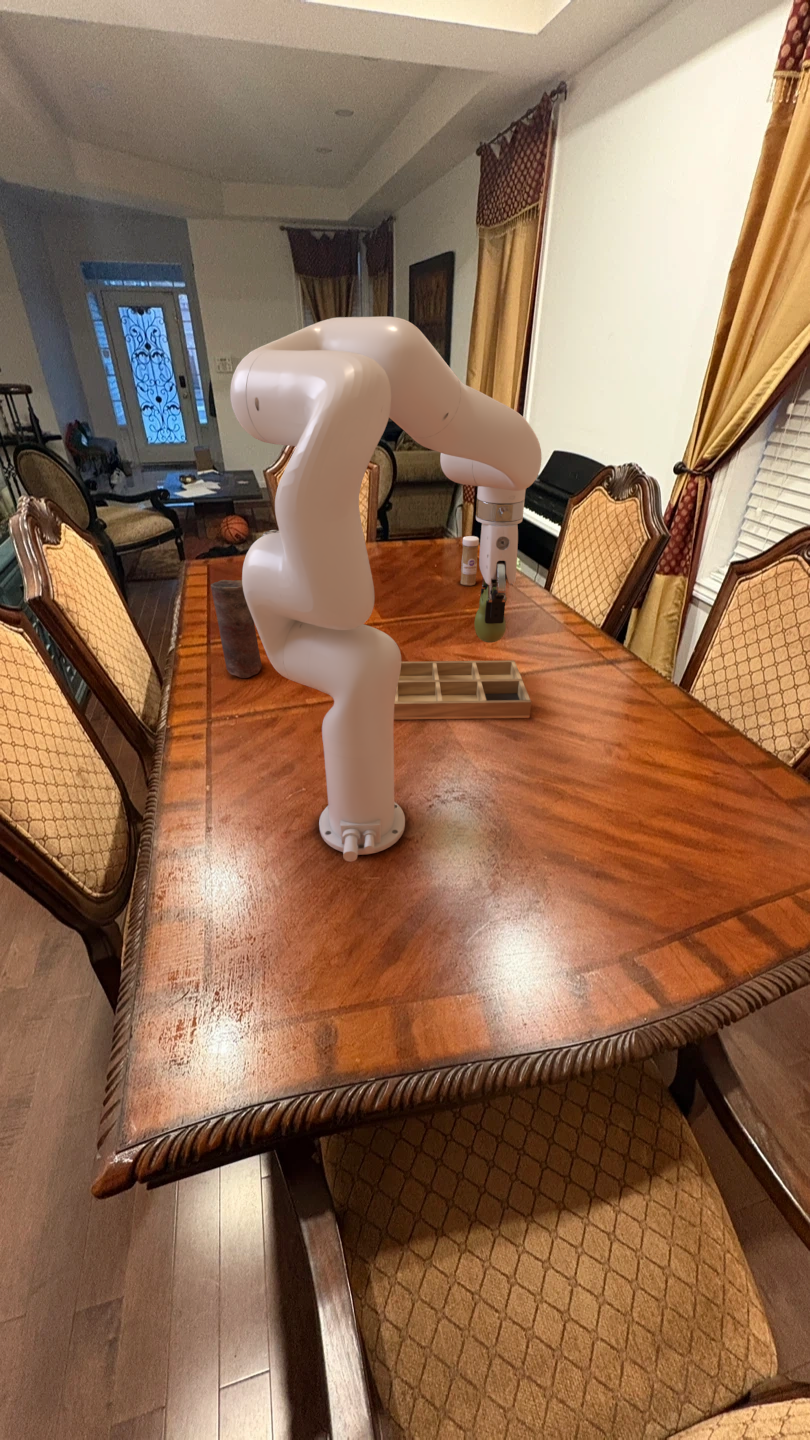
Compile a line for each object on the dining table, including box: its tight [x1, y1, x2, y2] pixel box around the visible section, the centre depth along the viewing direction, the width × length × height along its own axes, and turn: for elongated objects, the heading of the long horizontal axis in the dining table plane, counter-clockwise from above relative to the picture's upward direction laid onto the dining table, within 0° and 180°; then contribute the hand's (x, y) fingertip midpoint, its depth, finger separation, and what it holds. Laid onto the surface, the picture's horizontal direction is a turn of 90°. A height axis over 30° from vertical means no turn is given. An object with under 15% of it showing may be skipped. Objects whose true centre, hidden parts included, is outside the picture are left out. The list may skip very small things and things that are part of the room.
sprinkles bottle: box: [459, 535, 480, 587], centre depth 175 cm, size 5×5×14 cm
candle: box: [210, 579, 263, 679], centre depth 126 cm, size 8×7×20 cm
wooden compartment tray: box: [394, 659, 532, 721], centre depth 121 cm, size 17×26×4 cm
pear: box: [473, 587, 508, 644], centre depth 107 cm, size 6×5×10 cm
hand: (491, 615), depth 107 cm, fingers closed on pear, 5 cm apart
